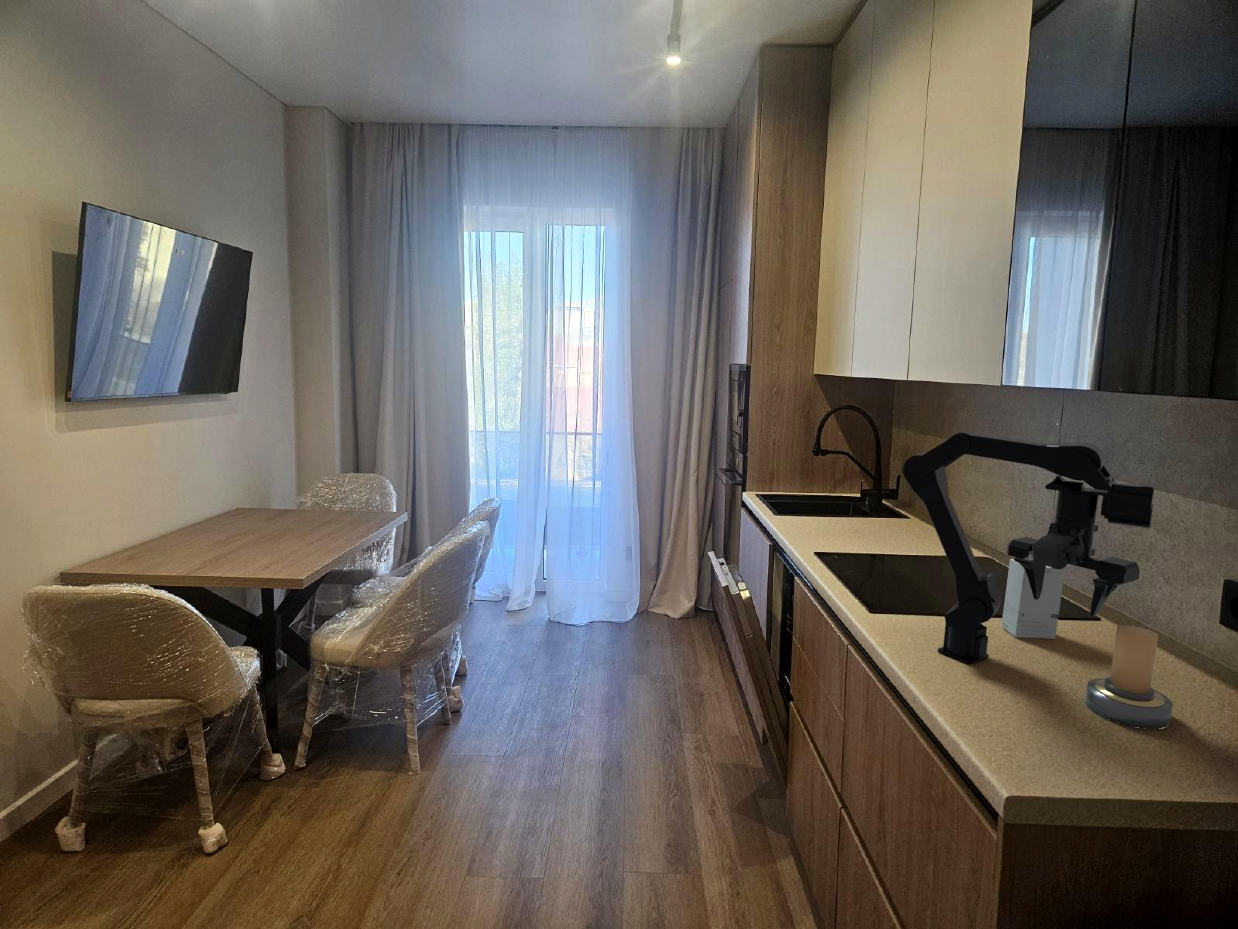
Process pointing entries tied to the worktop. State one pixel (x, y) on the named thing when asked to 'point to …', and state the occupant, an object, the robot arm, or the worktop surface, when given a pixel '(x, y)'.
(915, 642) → the worktop surface
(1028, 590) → the skincare box
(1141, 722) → the grey round disc
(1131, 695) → the tan rounded stopper
